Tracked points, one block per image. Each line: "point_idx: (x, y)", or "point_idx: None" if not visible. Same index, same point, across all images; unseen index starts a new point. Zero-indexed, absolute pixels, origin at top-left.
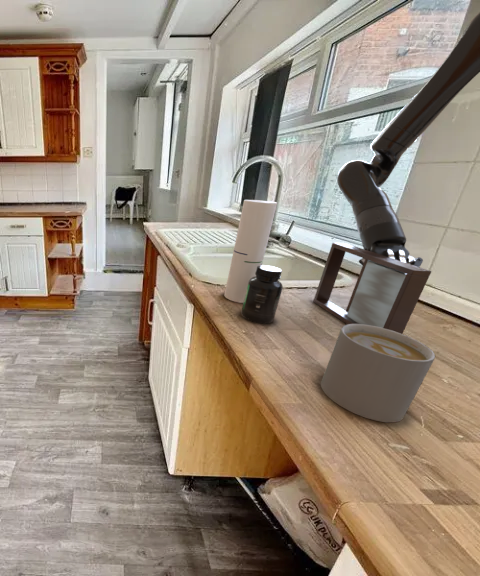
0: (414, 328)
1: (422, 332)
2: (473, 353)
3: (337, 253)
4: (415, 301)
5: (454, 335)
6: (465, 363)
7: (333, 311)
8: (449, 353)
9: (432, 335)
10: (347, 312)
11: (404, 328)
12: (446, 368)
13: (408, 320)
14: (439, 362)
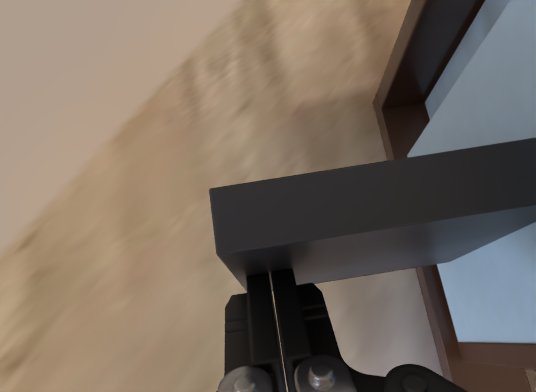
0: (176, 307)
1: (170, 271)
2: (114, 135)
3: None
4: None
5: (45, 279)
6: (205, 60)
7: (522, 369)
8: (204, 111)
9: (148, 251)
10: (455, 366)
11: (392, 55)
12: (292, 16)
13: (401, 28)
14: (287, 44)
